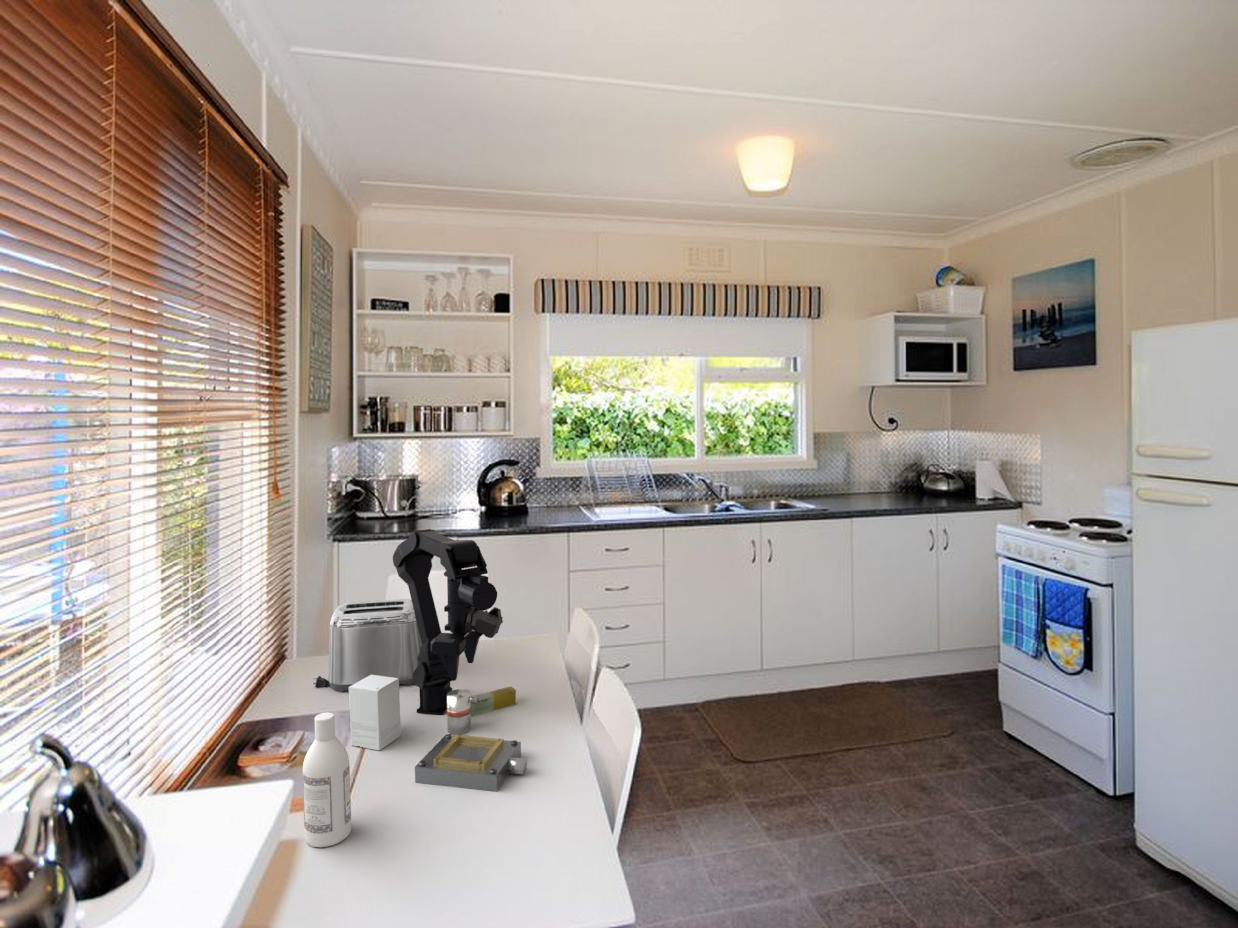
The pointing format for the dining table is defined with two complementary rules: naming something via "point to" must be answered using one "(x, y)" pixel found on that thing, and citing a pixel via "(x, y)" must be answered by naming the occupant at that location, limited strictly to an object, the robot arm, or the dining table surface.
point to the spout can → (459, 711)
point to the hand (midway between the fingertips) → (462, 670)
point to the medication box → (493, 700)
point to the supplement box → (374, 712)
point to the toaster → (372, 643)
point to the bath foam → (326, 786)
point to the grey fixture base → (471, 762)
